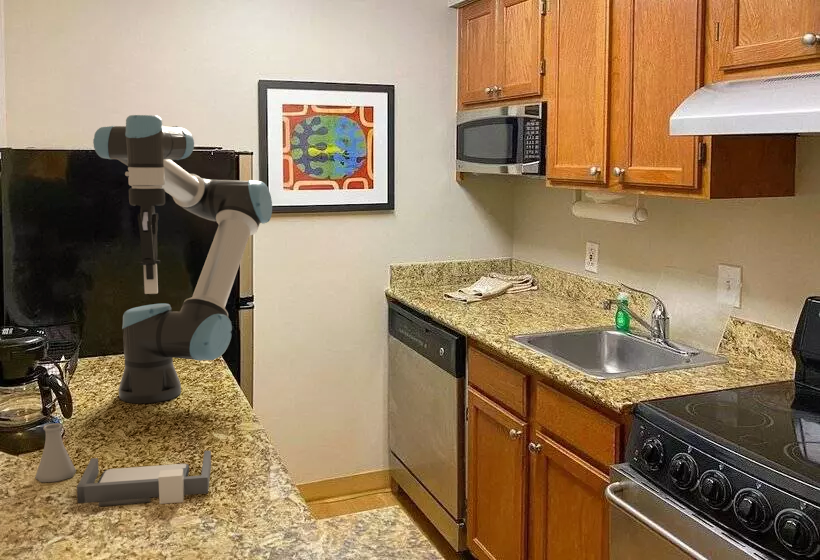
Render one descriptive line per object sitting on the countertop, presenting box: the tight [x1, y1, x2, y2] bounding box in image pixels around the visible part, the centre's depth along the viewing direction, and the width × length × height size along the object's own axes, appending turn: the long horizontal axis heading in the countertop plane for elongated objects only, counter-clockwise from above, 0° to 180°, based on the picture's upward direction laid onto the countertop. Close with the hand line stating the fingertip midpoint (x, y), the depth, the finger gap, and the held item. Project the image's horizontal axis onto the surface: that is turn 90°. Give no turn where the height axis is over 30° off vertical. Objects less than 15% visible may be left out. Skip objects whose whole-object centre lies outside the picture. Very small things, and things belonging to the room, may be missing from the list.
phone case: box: [97, 463, 190, 483], centre depth 146 cm, size 9×2×16 cm
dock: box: [76, 450, 212, 507], centre depth 143 cm, size 16×22×5 cm
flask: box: [34, 422, 77, 483], centre depth 147 cm, size 7×7×10 cm
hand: (151, 293), depth 172 cm, fingers closed
